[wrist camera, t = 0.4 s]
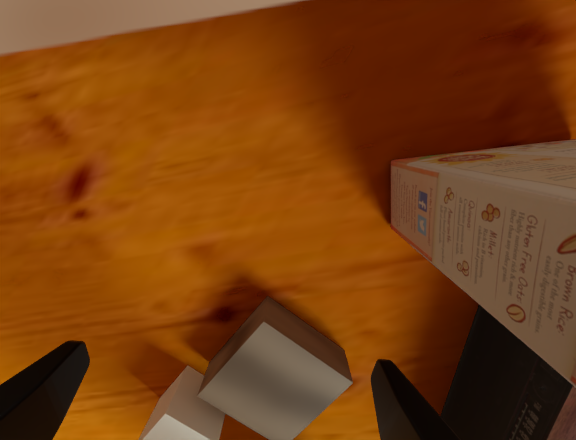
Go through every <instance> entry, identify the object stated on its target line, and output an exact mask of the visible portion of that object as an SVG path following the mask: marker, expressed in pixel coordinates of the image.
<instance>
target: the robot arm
mask: <svg viewBox="0 0 576 440" xmlns="http://www.w3.org/2000/svg"><path fill="white" fill-rule="evenodd" d="M89 363H90V358H89V355H88V351H87V348H86V345H85V343H84V342H83V341H73V340H71V341H67V342H65V343H63V344H62V345H60V346H59V347H57V348H56V349H54V350H53V351H51V352H50V353H48V354H47V355H45V356H44V357H42V358H41V359H39V360H37V361H36V362H34V363H33V364H31V365H30V366H28V367H27V368H25V369H24V370H22V371H21V372H19V373H18V374H16V375H15V376H13V377H12V378H10V379H9V380H7V381H6V382H4V383H2V384H1V385H0V440H52V439H53V437H54V436H55V434H56V432H57V430H58V429H59V427H60V425H61V423H62V421H63V419H64V417H65V415H66V413H67V411H68V409H69V407H70V405H71V403H72V401H73V399H74V396H75V394H76V392H77V390H78V388H79V386H80V384H81V382H82V380H83V377H84V375H85V373H86V371H87V369H88V367H89ZM371 386H372V392H373V398H374V404H375V410H376V416H377V422H378V428H379V433H380V438H381V440H460V439H459V437H458V436H457V435H456V434H455V433H454V432H453V431H452V429H451V428H450V427H449V426H448V425H447V424H446V423H445V421H444V420H443V419H442V418H441V417H440V416H439V415H438V413H437V412H436V411H435V410H434V409H433V408H432V406H431V405H430V404H429V403H428V402H427V401H426V400H425V398H424V397H423V396H422V395H421V394H420V393H419V392H418V390H417V389H416V388H415V387H414V386H413V385H412V384H411V382H410V381H409V380H408V379H407V378H406V377H405V376H404V374H403V373H402V372H401V371H400V370H399V369H398V368H397V366H396V365H395V364H394V363H393V362H392V361H391V360H386V359H378V360H377V362H376V364H375V367H374V369H373V372H372V375H371Z"/></svg>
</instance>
